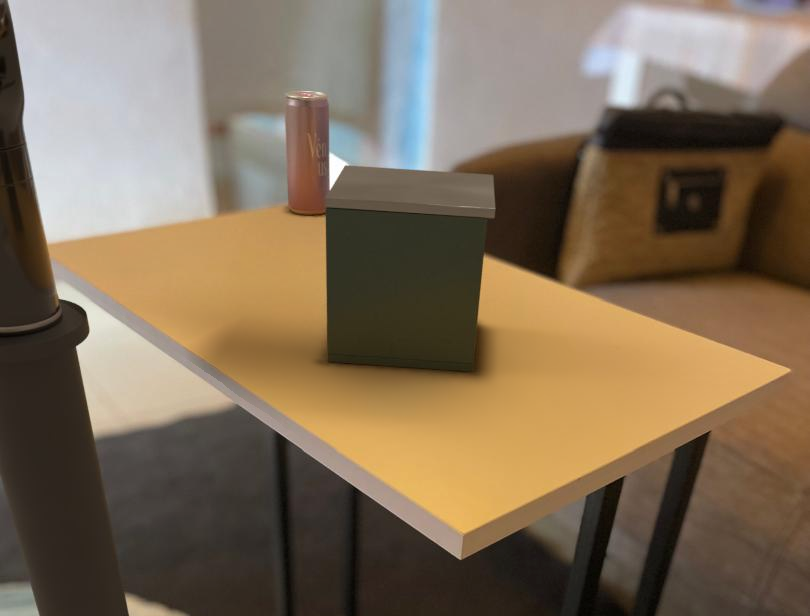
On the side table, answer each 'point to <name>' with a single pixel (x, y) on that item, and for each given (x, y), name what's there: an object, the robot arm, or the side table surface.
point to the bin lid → (413, 191)
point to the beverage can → (307, 151)
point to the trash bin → (403, 288)
